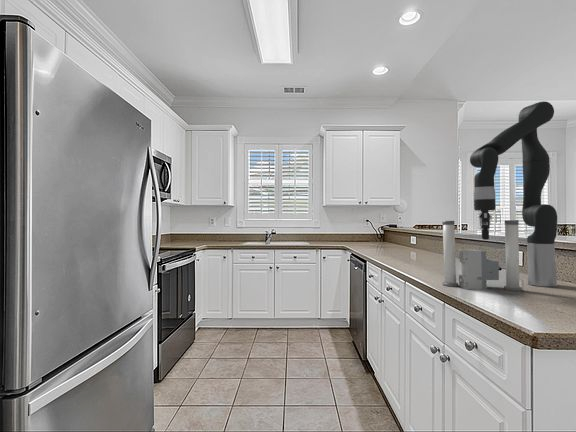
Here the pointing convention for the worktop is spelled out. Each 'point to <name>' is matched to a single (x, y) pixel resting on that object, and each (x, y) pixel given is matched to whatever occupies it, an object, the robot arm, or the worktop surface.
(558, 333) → the worktop surface
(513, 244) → the post
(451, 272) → the post
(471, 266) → the circuit breaker
